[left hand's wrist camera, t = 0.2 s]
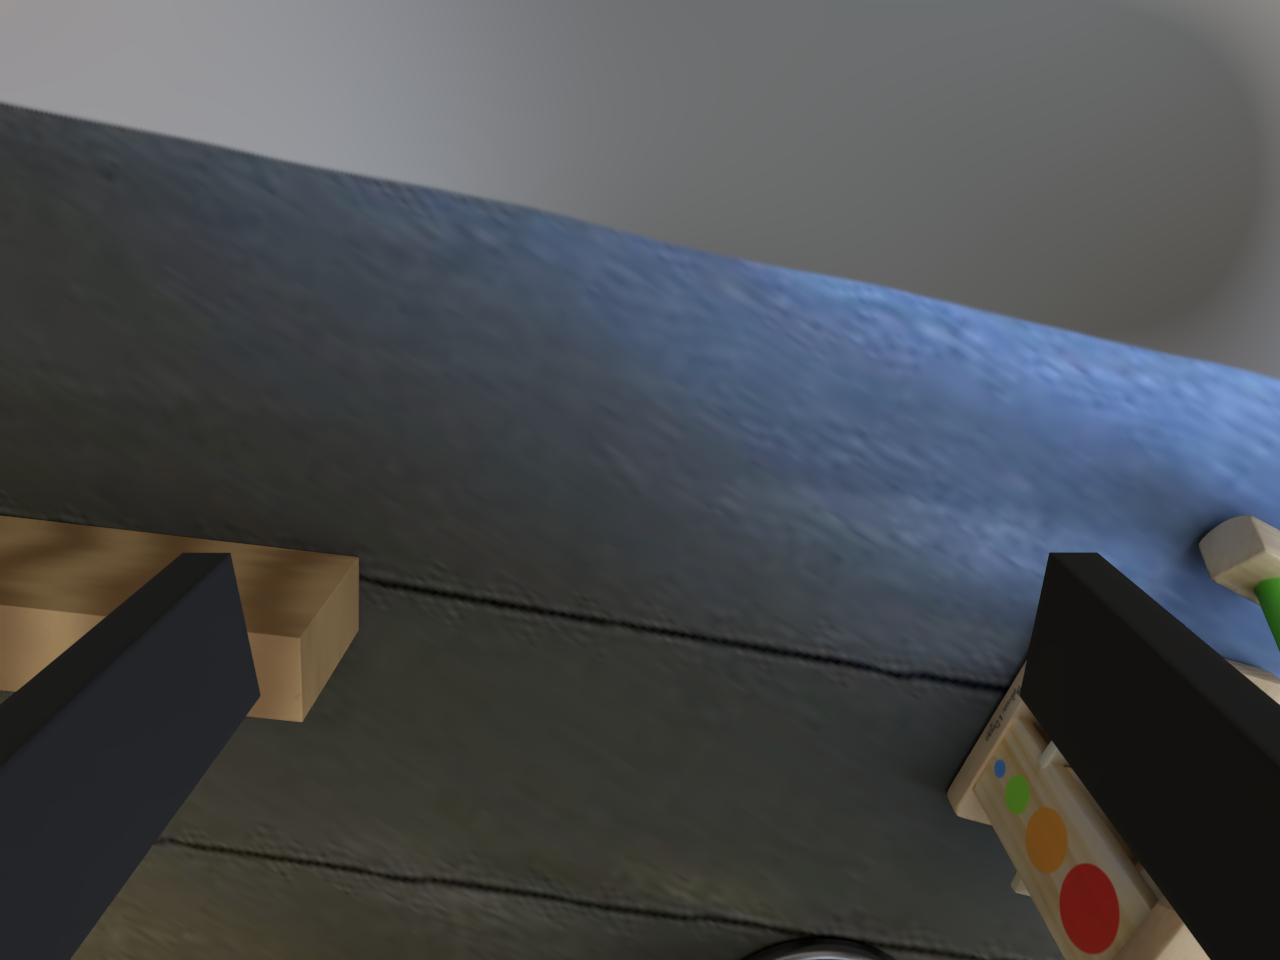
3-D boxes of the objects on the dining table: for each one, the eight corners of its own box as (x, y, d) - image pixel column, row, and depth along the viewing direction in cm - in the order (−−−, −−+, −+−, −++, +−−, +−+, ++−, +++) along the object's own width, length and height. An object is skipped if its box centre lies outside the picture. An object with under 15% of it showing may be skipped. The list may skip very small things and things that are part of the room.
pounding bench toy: (1136, 471, 41) (1471, 674, 25) (1365, 548, 43) (1826, 787, 26) (941, 798, 49) (1095, 1118, 33) (1141, 852, 51) (1386, 1184, 34)
